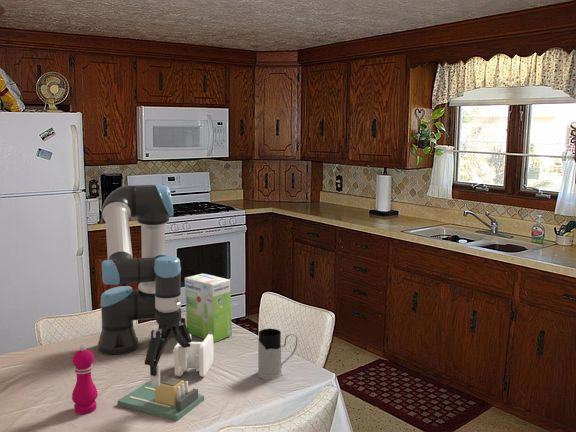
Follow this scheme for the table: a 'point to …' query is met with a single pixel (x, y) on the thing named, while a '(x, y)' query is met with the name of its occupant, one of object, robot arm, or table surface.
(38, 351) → the table surface
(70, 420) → the table surface
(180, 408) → the board
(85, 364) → the pepper mill
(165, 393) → the plug block
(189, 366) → the cable organizer
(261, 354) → the grey mug
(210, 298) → the toothbrush box
